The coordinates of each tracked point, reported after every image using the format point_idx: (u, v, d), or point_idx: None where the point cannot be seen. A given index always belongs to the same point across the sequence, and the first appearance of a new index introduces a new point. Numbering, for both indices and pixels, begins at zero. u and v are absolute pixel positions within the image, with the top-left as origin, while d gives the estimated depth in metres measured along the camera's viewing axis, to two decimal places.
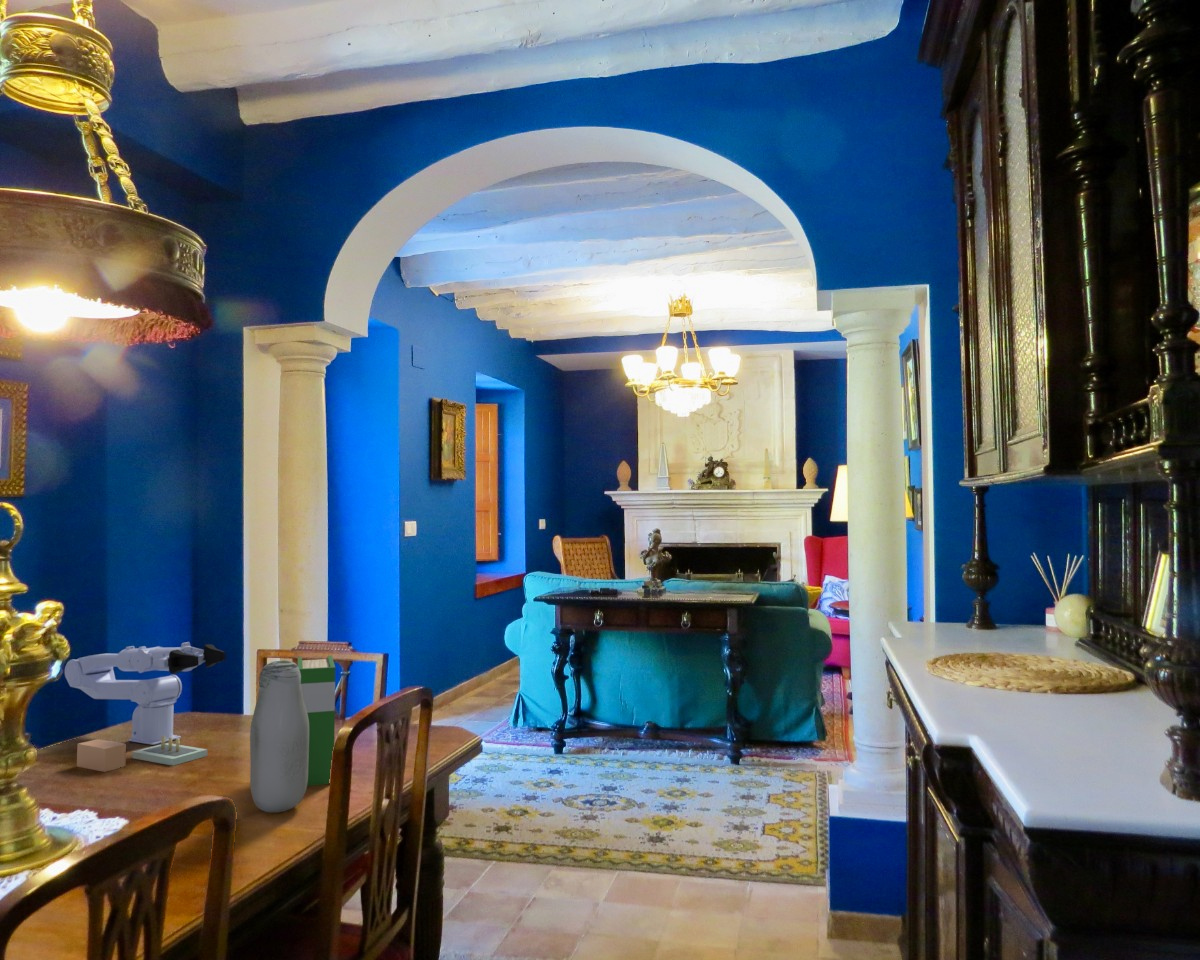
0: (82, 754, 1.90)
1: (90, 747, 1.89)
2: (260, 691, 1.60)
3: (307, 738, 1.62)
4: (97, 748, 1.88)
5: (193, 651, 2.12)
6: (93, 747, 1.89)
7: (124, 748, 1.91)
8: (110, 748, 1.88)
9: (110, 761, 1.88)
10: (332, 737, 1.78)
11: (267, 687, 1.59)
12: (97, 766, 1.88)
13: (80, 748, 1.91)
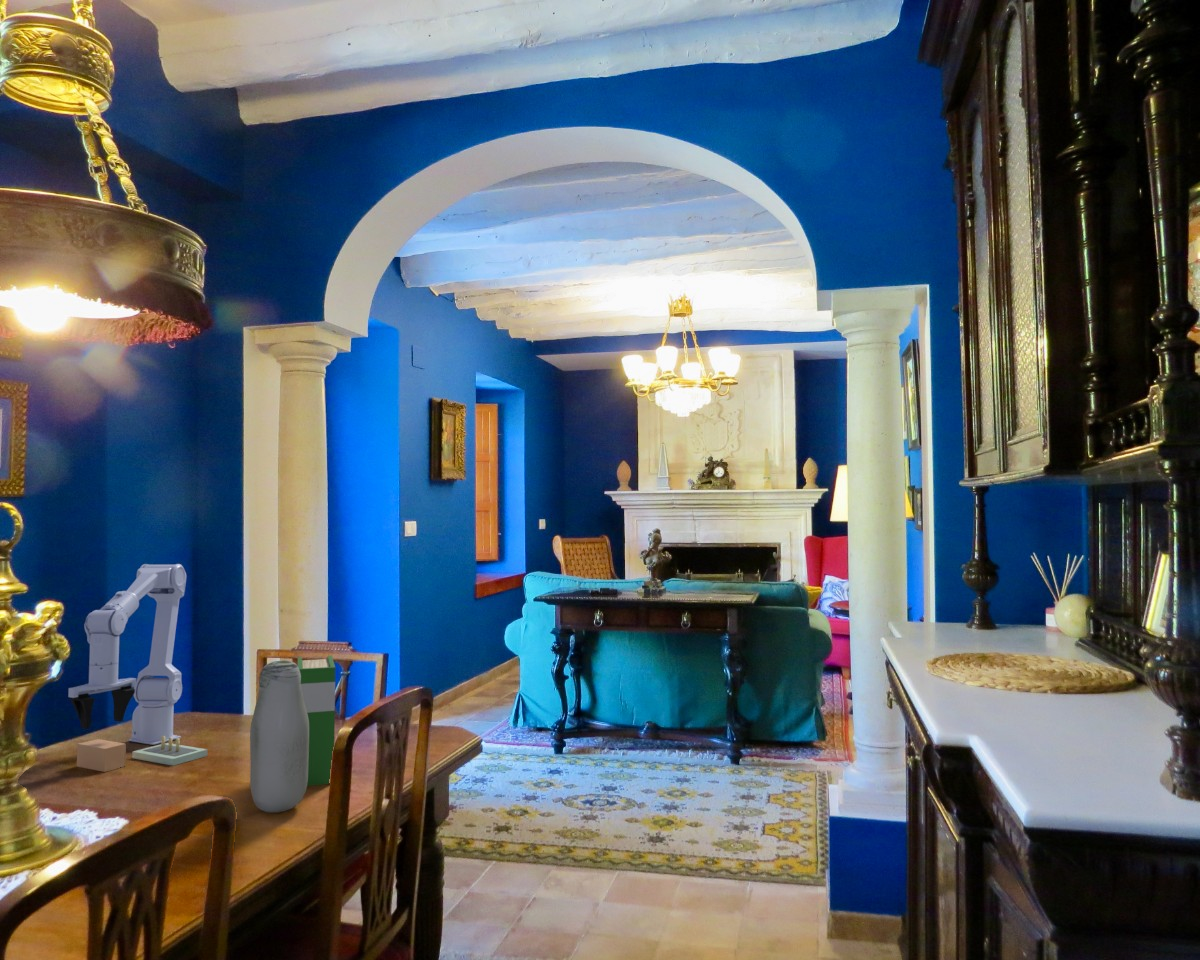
0: (82, 754, 1.90)
1: (90, 747, 1.89)
2: (260, 691, 1.60)
3: (307, 738, 1.62)
4: (97, 748, 1.88)
5: None
6: (93, 747, 1.89)
7: (124, 748, 1.91)
8: (110, 748, 1.88)
9: (110, 761, 1.88)
10: (332, 737, 1.78)
11: (267, 687, 1.59)
12: (97, 766, 1.88)
13: (80, 748, 1.91)
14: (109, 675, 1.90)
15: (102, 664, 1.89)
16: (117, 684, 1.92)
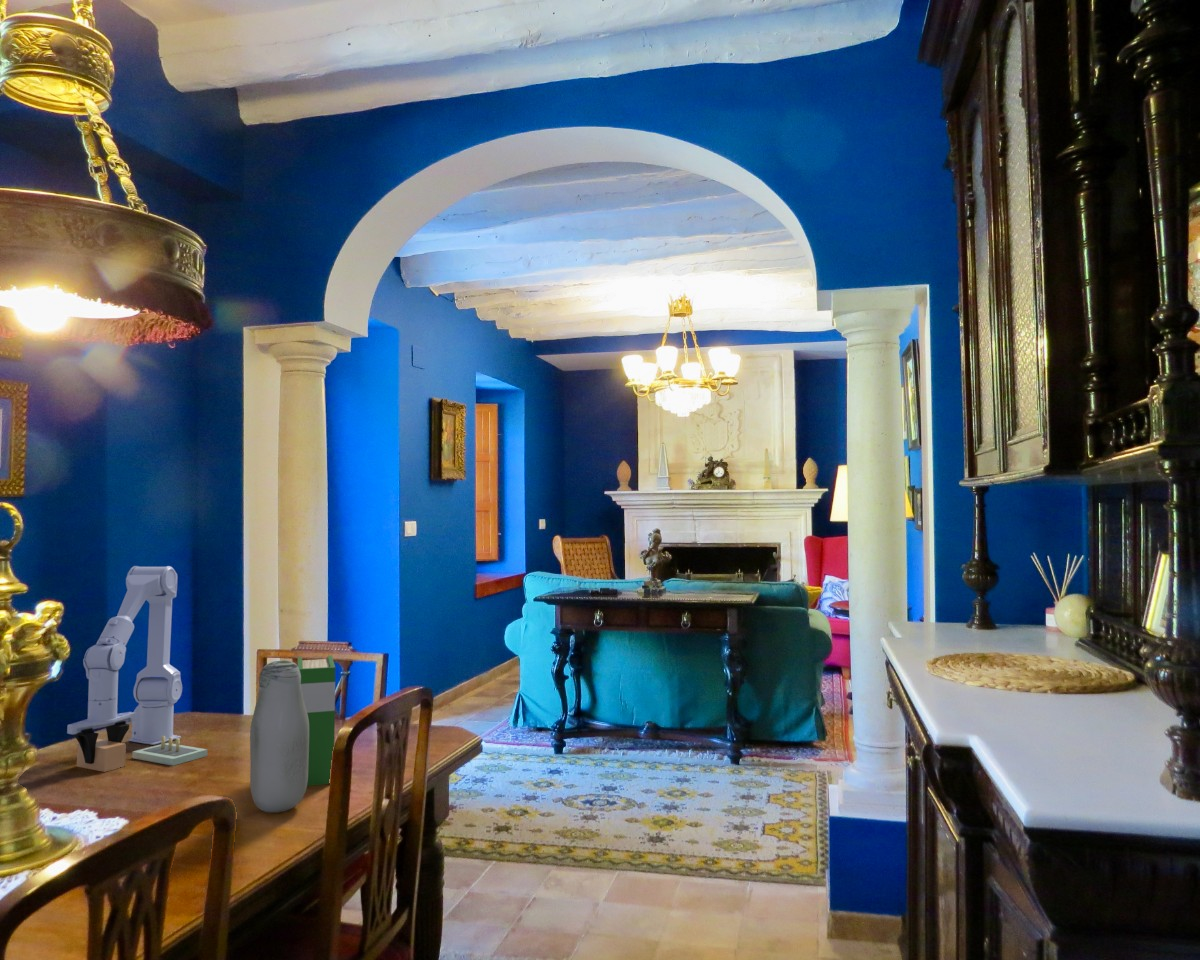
0: (82, 754, 1.90)
1: None
2: (260, 691, 1.60)
3: (307, 738, 1.62)
4: (97, 748, 1.88)
5: None
6: None
7: (124, 748, 1.91)
8: (110, 748, 1.88)
9: (110, 761, 1.88)
10: (332, 737, 1.78)
11: (267, 687, 1.59)
12: (97, 766, 1.88)
13: (80, 748, 1.91)
14: (108, 711, 1.90)
15: (101, 700, 1.89)
16: (116, 719, 1.91)
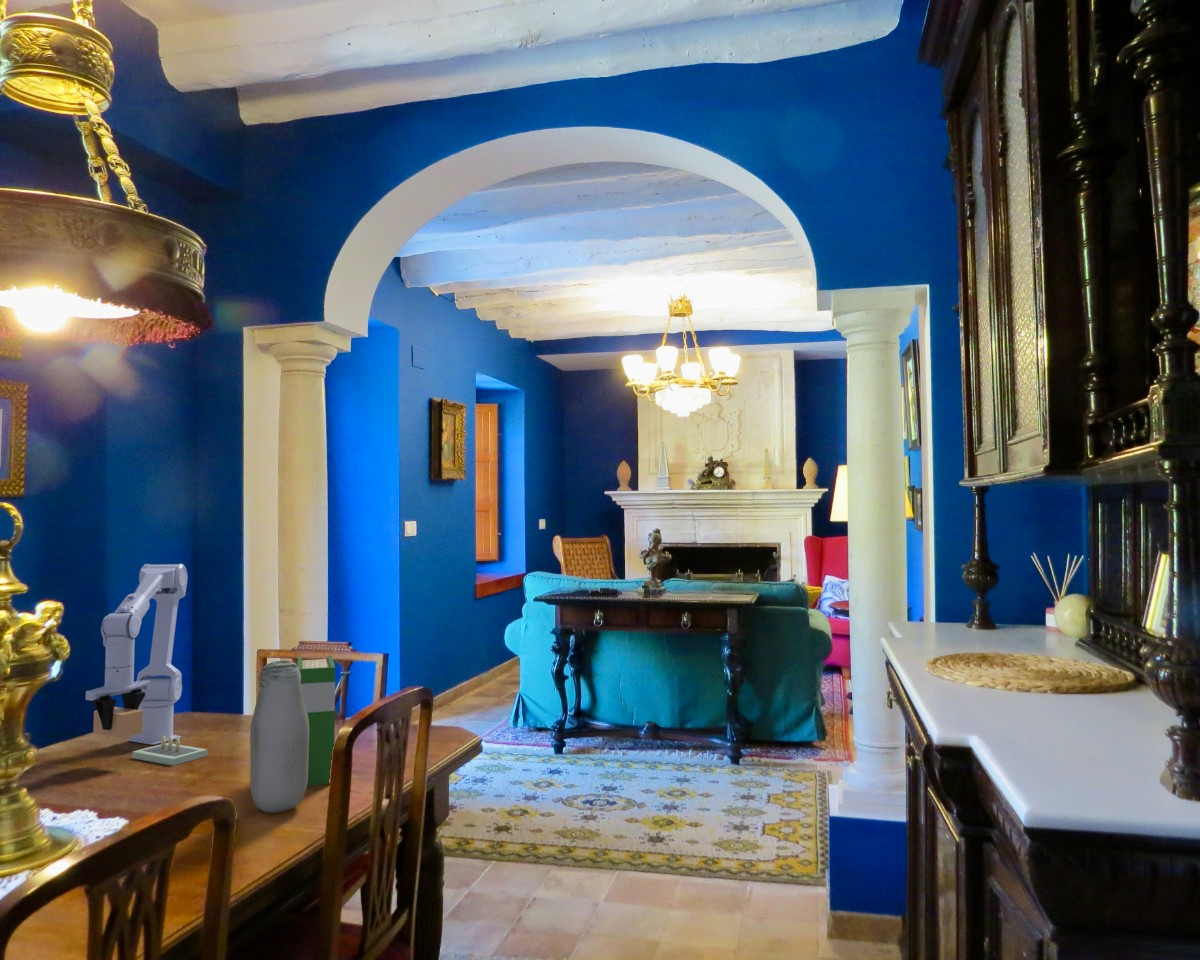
0: (99, 721, 1.92)
1: None
2: (260, 691, 1.60)
3: (307, 738, 1.62)
4: (115, 714, 1.90)
5: None
6: None
7: (141, 715, 1.93)
8: (128, 714, 1.90)
9: (128, 727, 1.90)
10: (332, 737, 1.78)
11: (267, 687, 1.59)
12: (115, 732, 1.90)
13: (96, 715, 1.93)
14: (125, 678, 1.92)
15: (118, 667, 1.91)
16: (133, 686, 1.94)
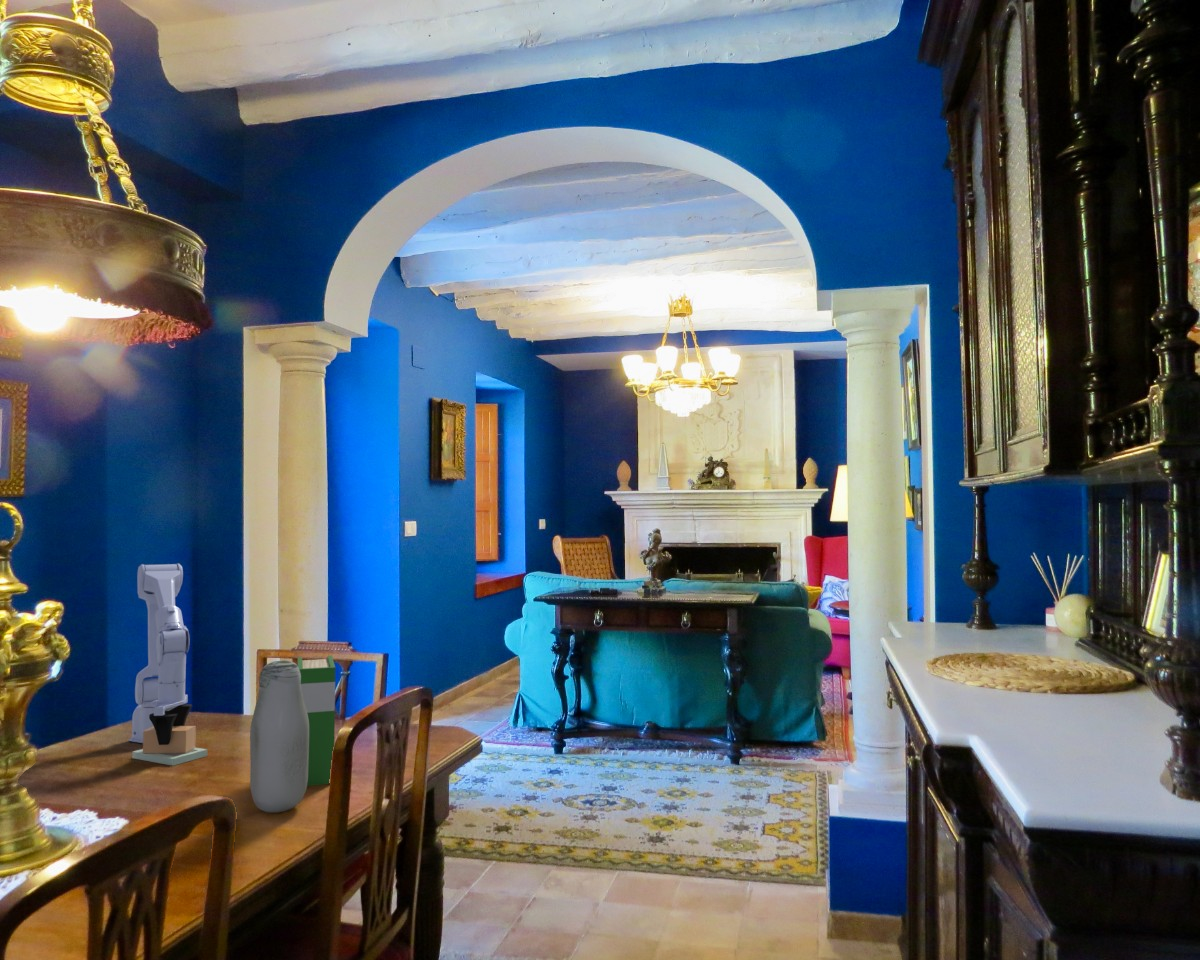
0: (151, 740, 1.96)
1: None
2: (260, 691, 1.60)
3: (307, 738, 1.62)
4: (174, 731, 1.96)
5: None
6: None
7: (195, 730, 2.01)
8: (188, 730, 1.98)
9: (188, 742, 1.97)
10: (332, 737, 1.78)
11: (267, 687, 1.59)
12: (174, 749, 1.96)
13: (147, 735, 1.96)
14: (183, 692, 1.99)
15: (178, 682, 1.98)
16: (185, 700, 2.01)
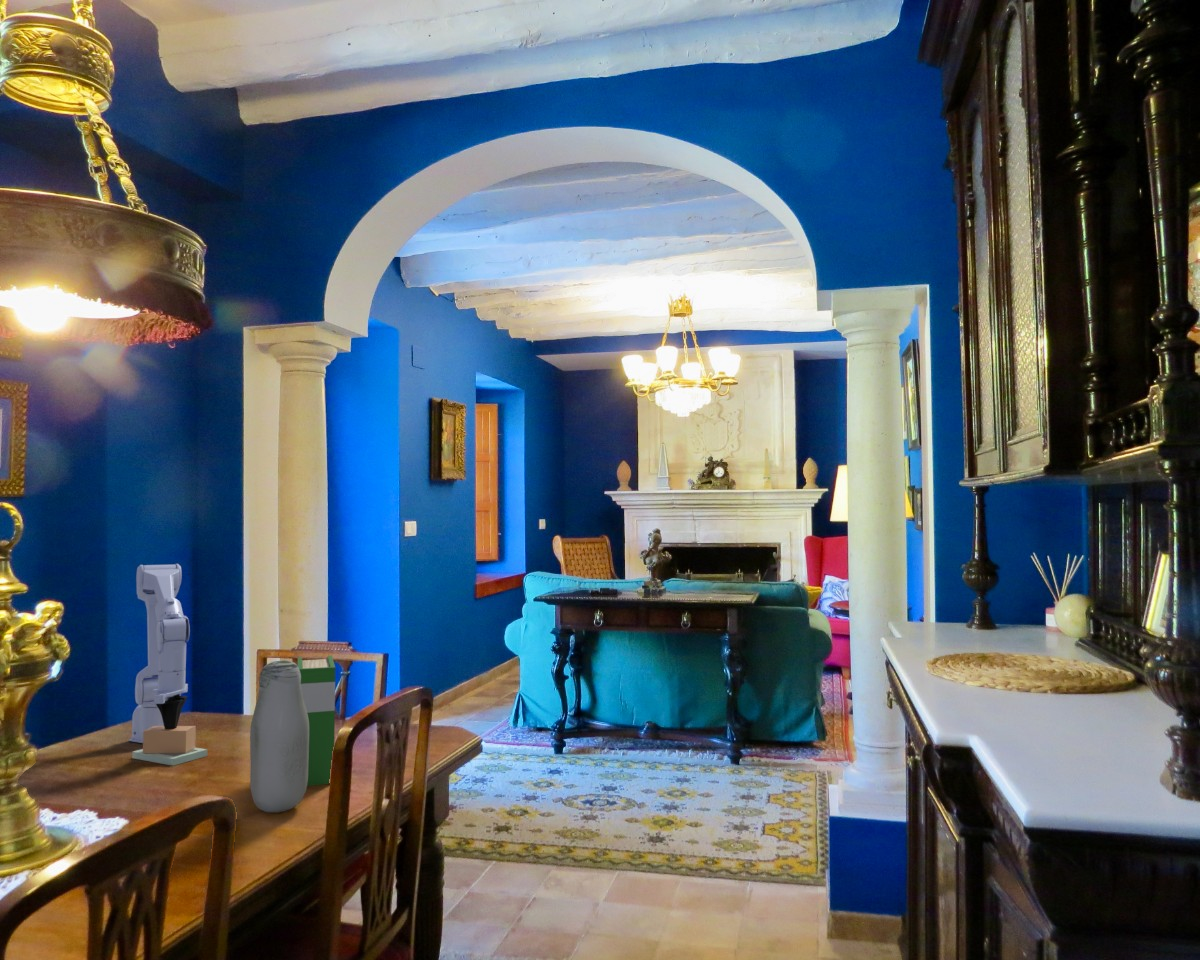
0: (151, 740, 1.96)
1: (163, 732, 1.96)
2: (260, 691, 1.60)
3: (307, 738, 1.62)
4: (174, 731, 1.96)
5: None
6: (168, 731, 1.96)
7: (195, 730, 2.01)
8: (188, 730, 1.98)
9: (188, 742, 1.97)
10: (332, 737, 1.78)
11: (267, 687, 1.59)
12: (174, 749, 1.96)
13: (147, 735, 1.96)
14: (183, 680, 1.99)
15: (178, 670, 1.98)
16: (186, 689, 2.01)
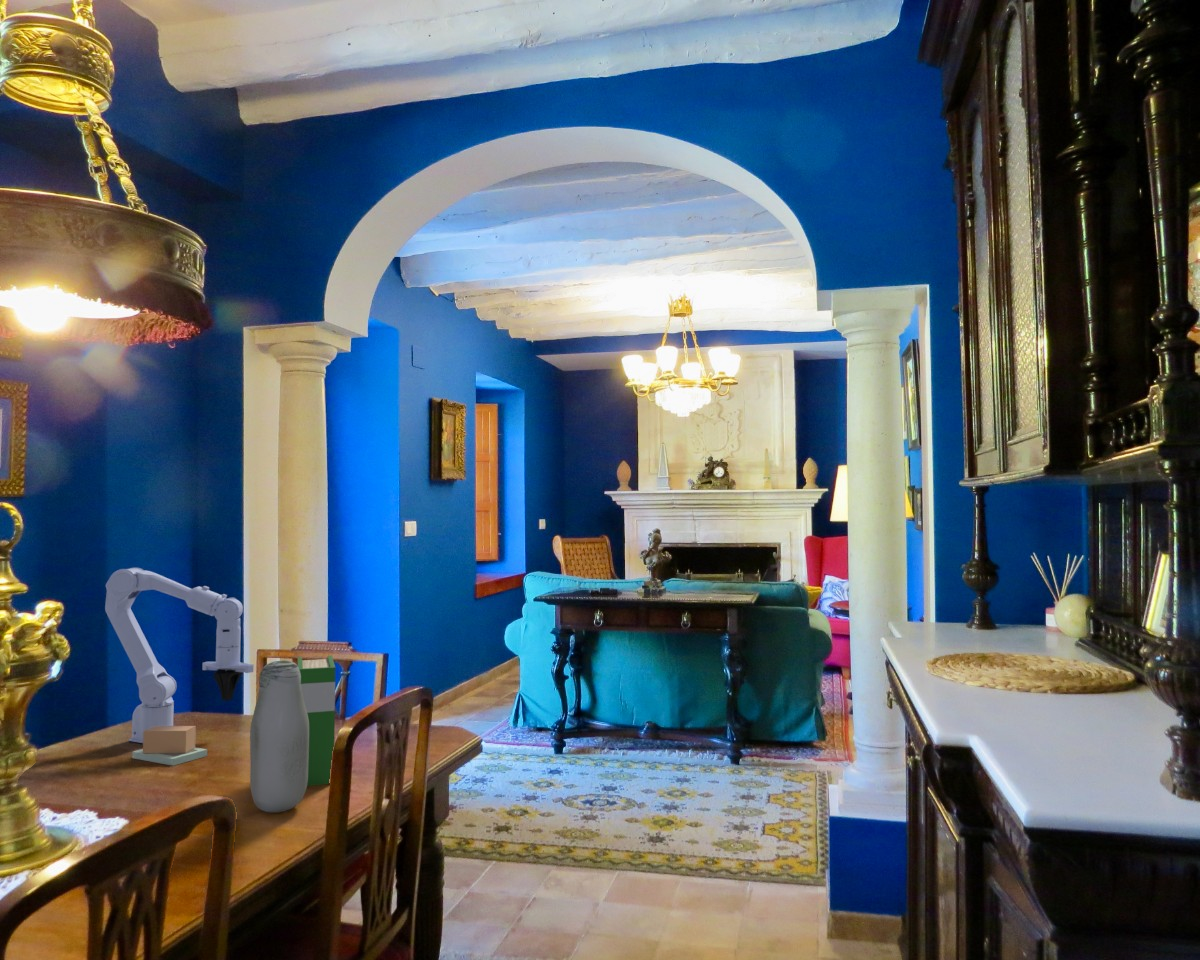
0: (151, 740, 1.96)
1: (163, 732, 1.96)
2: (260, 691, 1.60)
3: (307, 738, 1.62)
4: (174, 731, 1.96)
5: None
6: (168, 731, 1.96)
7: (195, 730, 2.01)
8: (188, 730, 1.98)
9: (188, 742, 1.97)
10: (332, 737, 1.78)
11: (267, 687, 1.59)
12: (174, 749, 1.96)
13: (147, 735, 1.96)
14: None
15: None
16: None
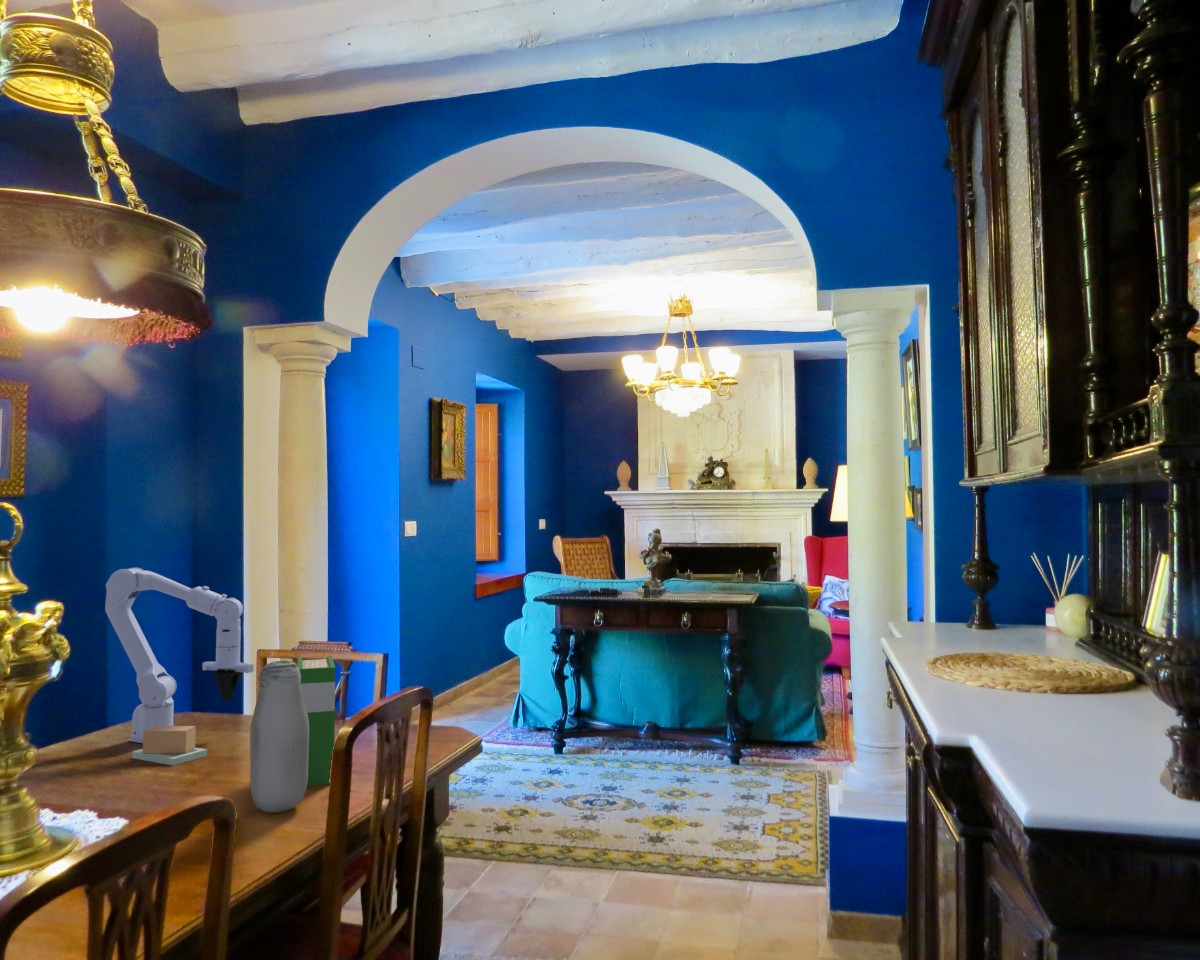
0: (151, 740, 1.96)
1: (163, 732, 1.96)
2: (260, 691, 1.60)
3: (307, 738, 1.62)
4: (174, 731, 1.96)
5: None
6: (168, 731, 1.96)
7: (195, 730, 2.01)
8: (188, 730, 1.98)
9: (188, 742, 1.97)
10: (332, 737, 1.78)
11: (267, 687, 1.59)
12: (174, 749, 1.96)
13: (147, 735, 1.96)
14: None
15: None
16: None
